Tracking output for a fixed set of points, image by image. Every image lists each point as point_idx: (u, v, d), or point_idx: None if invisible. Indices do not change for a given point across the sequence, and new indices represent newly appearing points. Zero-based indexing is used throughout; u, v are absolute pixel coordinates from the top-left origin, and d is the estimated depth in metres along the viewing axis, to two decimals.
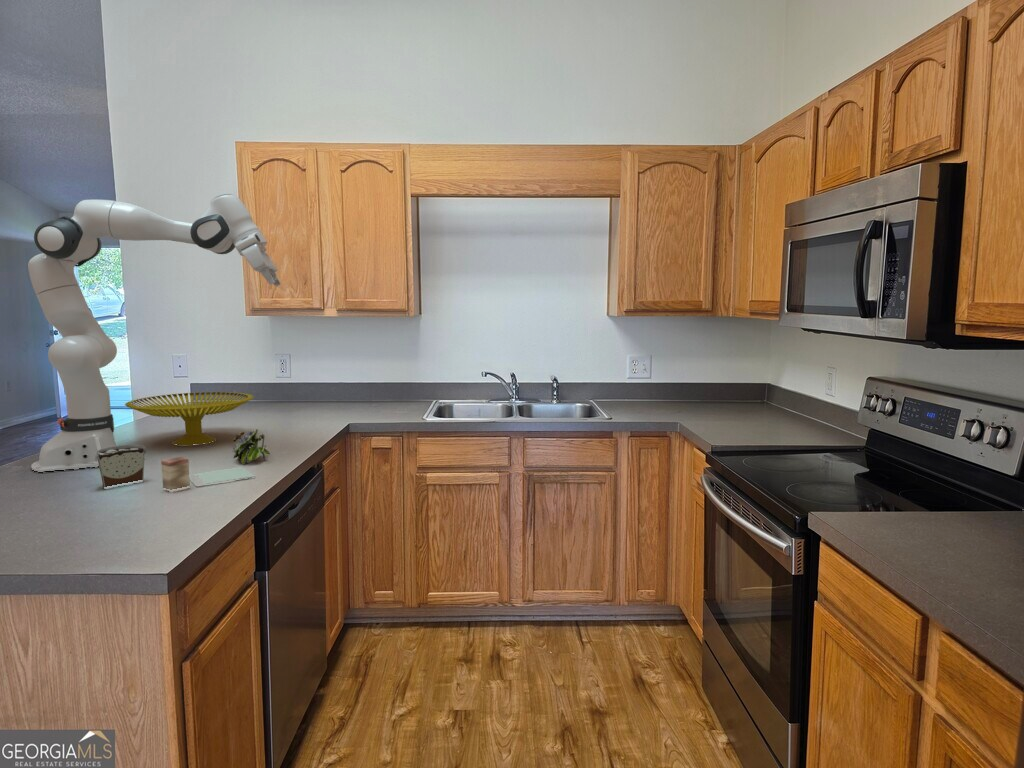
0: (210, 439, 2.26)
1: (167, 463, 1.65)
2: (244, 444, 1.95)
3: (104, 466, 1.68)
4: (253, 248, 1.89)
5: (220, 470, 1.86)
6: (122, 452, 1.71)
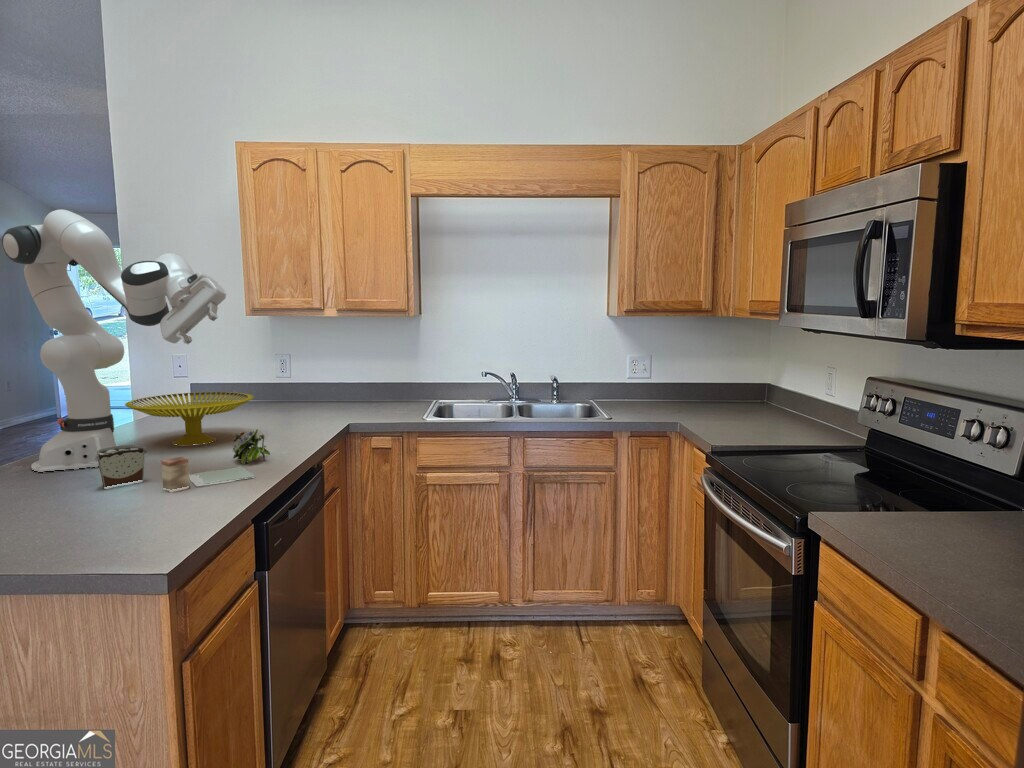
0: (210, 439, 2.26)
1: (167, 463, 1.65)
2: (244, 444, 1.95)
3: (104, 466, 1.68)
4: (218, 284, 1.75)
5: (220, 470, 1.86)
6: (122, 452, 1.71)
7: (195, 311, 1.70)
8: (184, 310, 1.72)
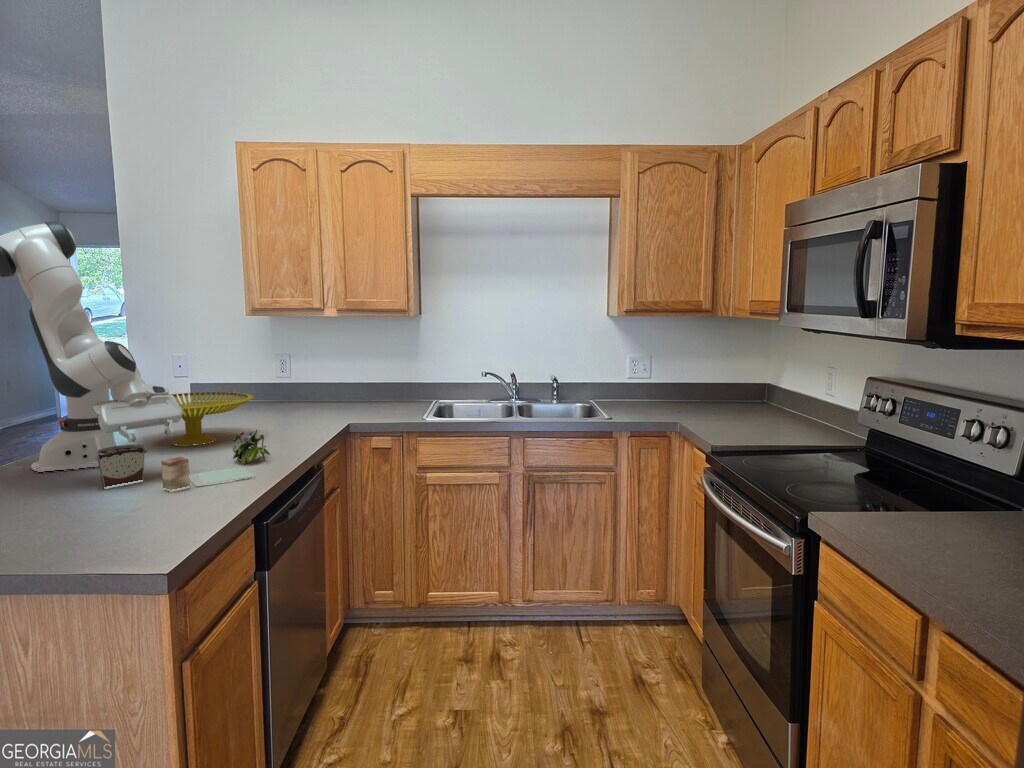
0: (210, 439, 2.26)
1: (167, 463, 1.65)
2: (244, 444, 1.95)
3: (104, 466, 1.68)
4: None
5: (220, 470, 1.86)
6: (122, 452, 1.71)
7: (153, 418, 1.75)
8: (138, 411, 1.74)
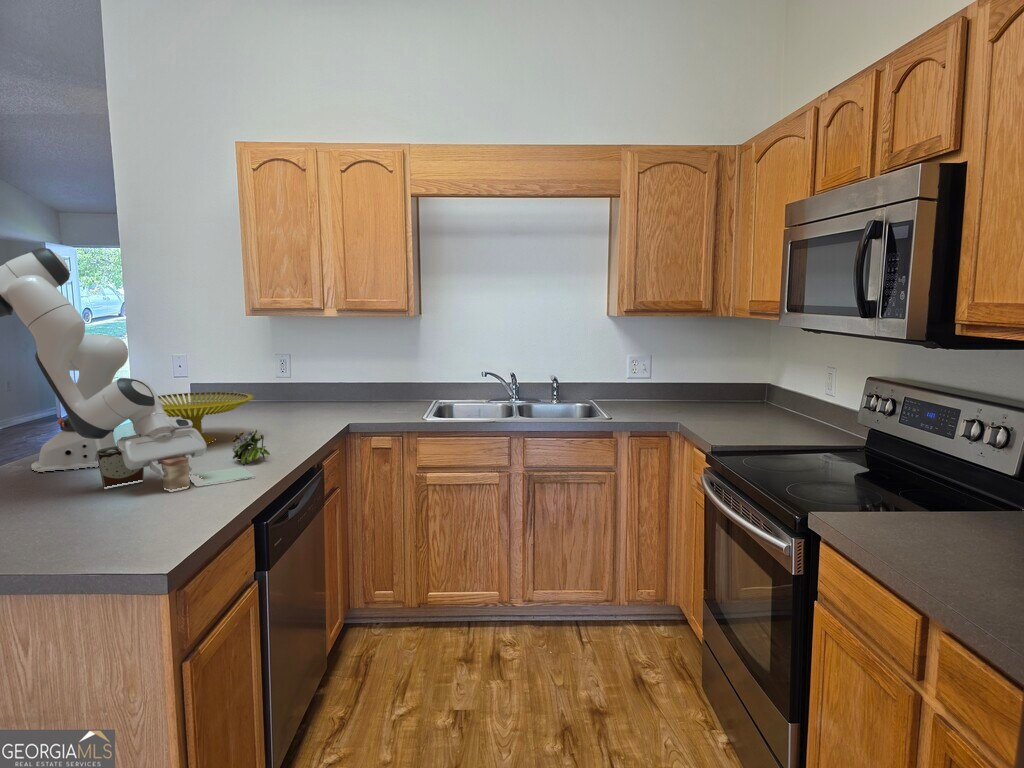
0: (210, 439, 2.26)
1: (167, 463, 1.65)
2: (244, 444, 1.95)
3: (104, 466, 1.68)
4: None
5: (220, 470, 1.86)
6: None
7: (178, 453, 1.70)
8: (163, 446, 1.69)
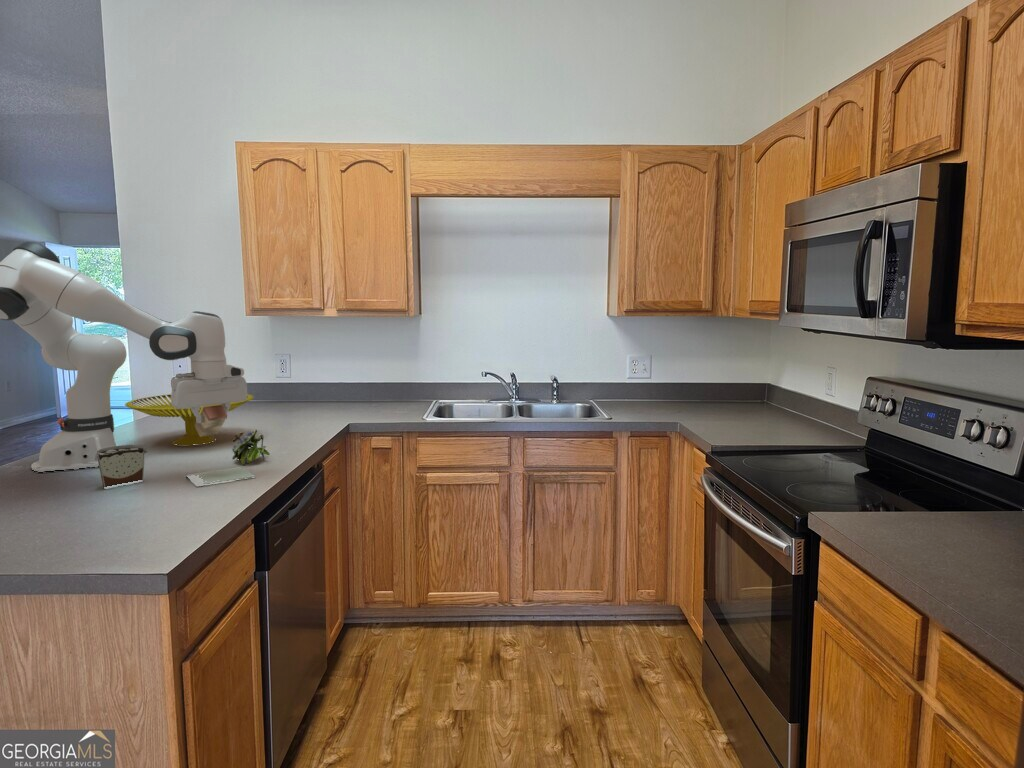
0: (210, 439, 2.26)
1: (208, 416, 1.74)
2: (244, 444, 1.95)
3: (104, 466, 1.68)
4: None
5: (220, 470, 1.86)
6: (122, 452, 1.71)
7: (220, 403, 1.78)
8: (210, 393, 1.76)
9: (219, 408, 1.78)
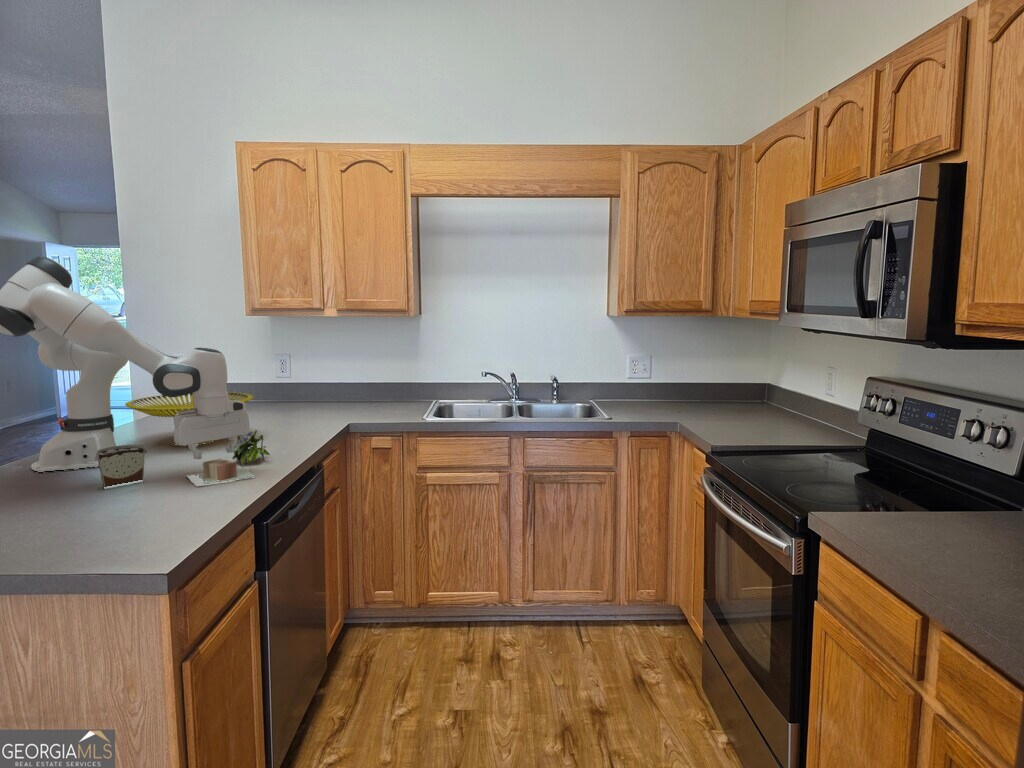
0: None
1: (219, 477, 1.75)
2: (243, 445, 1.94)
3: (104, 466, 1.68)
4: None
5: None
6: (122, 452, 1.71)
7: (222, 438, 1.80)
8: (213, 428, 1.77)
9: (232, 467, 1.78)
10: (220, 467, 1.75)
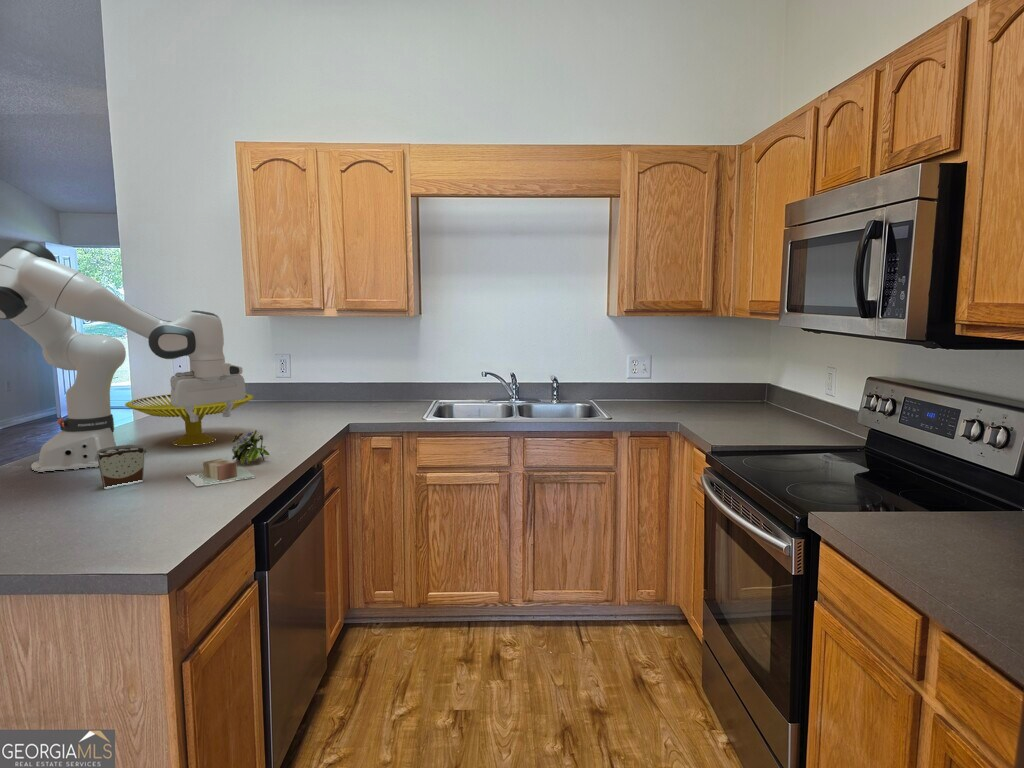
0: (210, 439, 2.26)
1: (219, 477, 1.75)
2: (243, 445, 1.94)
3: (104, 466, 1.68)
4: None
5: None
6: (122, 452, 1.71)
7: (219, 401, 1.80)
8: (209, 391, 1.77)
9: (232, 467, 1.78)
10: (220, 467, 1.75)
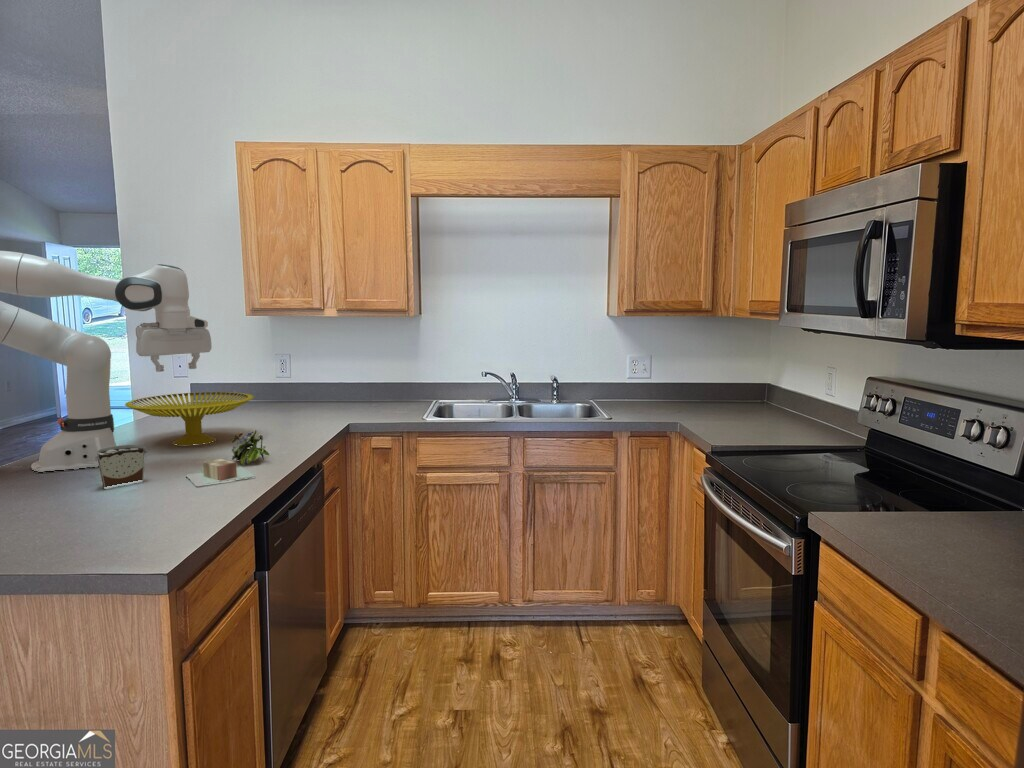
0: (210, 439, 2.26)
1: (219, 477, 1.75)
2: (243, 445, 1.94)
3: (104, 466, 1.68)
4: None
5: None
6: (122, 452, 1.71)
7: (184, 353, 1.87)
8: (174, 343, 1.84)
9: (232, 467, 1.78)
10: (220, 467, 1.75)
